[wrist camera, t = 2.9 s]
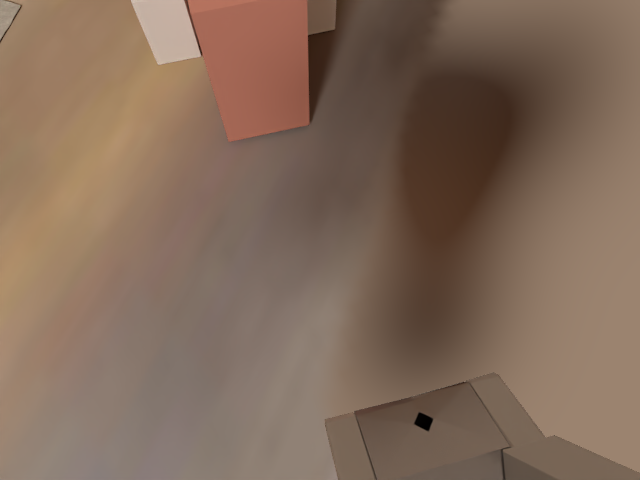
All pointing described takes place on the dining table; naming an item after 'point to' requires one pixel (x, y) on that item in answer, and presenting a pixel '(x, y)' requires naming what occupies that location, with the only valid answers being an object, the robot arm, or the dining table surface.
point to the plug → (256, 62)
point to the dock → (179, 32)
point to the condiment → (7, 15)
